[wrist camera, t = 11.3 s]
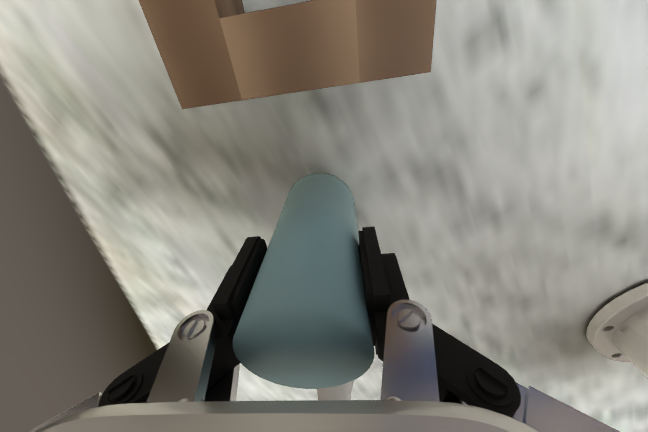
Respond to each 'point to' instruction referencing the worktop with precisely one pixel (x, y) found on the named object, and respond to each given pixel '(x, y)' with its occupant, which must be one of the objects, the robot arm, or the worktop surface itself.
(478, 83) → the worktop surface
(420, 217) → the worktop surface
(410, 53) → the walnut pocket block
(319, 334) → the teal peg
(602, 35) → the worktop surface
